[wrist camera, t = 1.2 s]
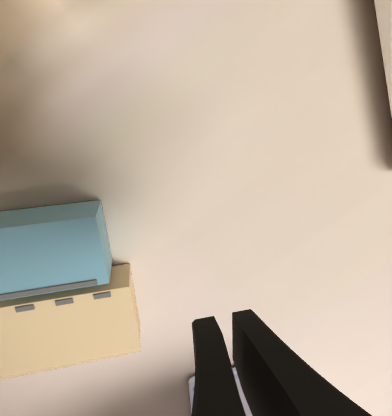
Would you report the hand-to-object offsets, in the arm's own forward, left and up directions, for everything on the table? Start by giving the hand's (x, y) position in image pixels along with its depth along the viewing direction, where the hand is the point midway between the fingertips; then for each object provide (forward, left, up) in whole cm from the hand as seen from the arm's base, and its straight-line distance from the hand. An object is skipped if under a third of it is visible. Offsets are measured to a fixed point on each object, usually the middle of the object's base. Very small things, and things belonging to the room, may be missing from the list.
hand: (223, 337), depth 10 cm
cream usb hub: (-5, +9, -9) cm, 14 cm away
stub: (0, +7, -9) cm, 12 cm away
